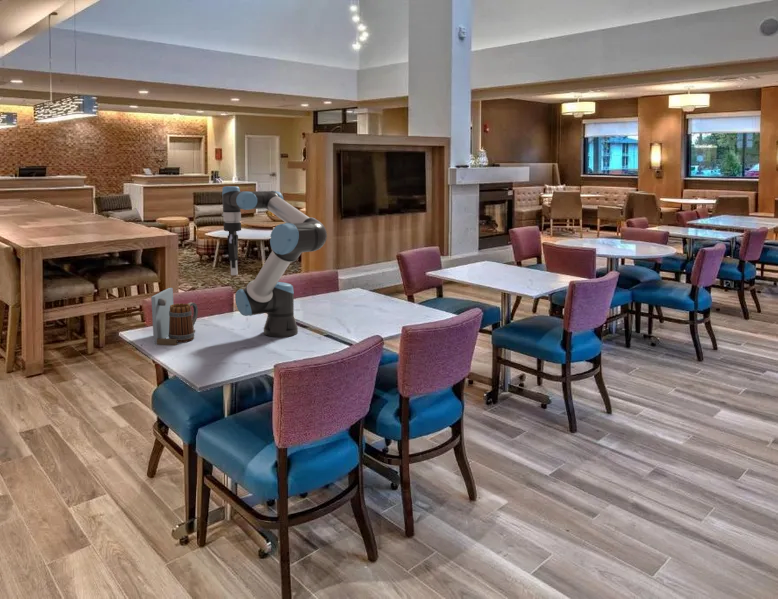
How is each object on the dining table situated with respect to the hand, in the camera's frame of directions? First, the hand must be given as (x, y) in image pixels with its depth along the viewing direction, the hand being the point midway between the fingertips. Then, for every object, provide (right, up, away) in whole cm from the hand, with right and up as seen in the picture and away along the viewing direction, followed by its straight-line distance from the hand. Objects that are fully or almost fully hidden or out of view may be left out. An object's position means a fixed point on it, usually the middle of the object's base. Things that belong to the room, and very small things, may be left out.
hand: (234, 274), depth 281 cm
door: (-27, -28, -9) cm, 39 cm away
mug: (-19, -28, -9) cm, 35 cm away
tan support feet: (-23, -28, -9) cm, 37 cm away
